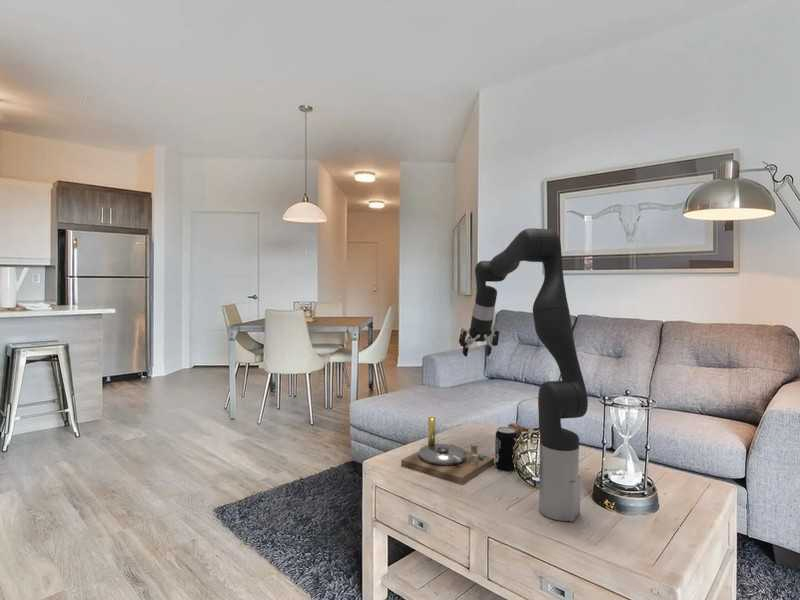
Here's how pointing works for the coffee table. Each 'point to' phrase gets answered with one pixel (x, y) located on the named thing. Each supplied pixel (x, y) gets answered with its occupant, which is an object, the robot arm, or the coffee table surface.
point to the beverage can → (505, 448)
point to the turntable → (452, 466)
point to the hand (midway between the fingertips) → (476, 355)
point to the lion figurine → (517, 429)
